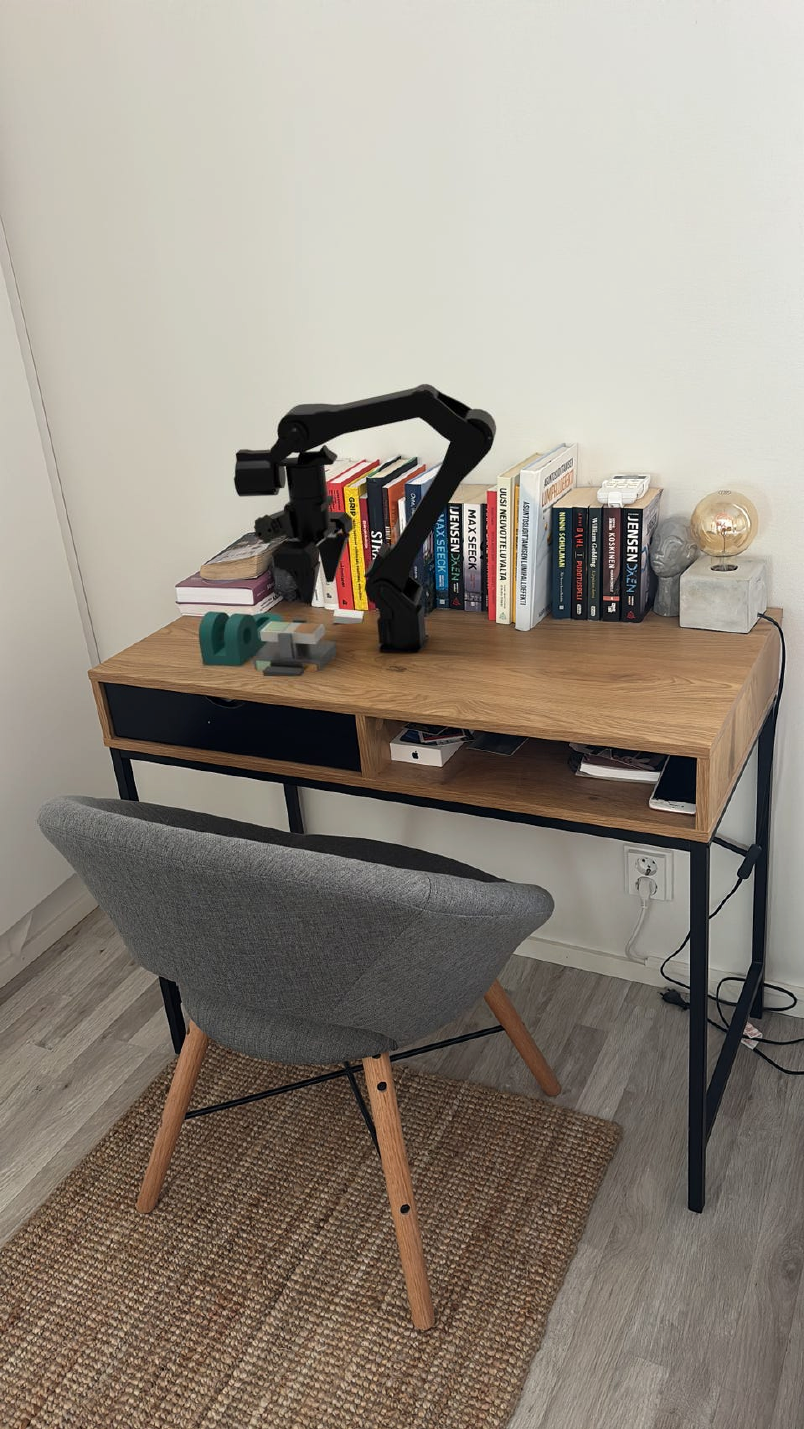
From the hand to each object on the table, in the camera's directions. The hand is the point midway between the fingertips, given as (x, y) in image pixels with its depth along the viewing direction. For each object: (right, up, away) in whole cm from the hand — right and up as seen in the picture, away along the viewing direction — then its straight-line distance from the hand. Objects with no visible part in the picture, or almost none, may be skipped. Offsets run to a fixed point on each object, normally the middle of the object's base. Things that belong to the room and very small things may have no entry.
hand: (319, 592), depth 178 cm
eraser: (+1, -4, +15) cm, 16 cm away
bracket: (-12, -8, +11) cm, 18 cm away
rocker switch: (-4, -6, -1) cm, 8 cm away
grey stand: (-4, -11, +2) cm, 12 cm away
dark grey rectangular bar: (-5, -14, -3) cm, 15 cm away
